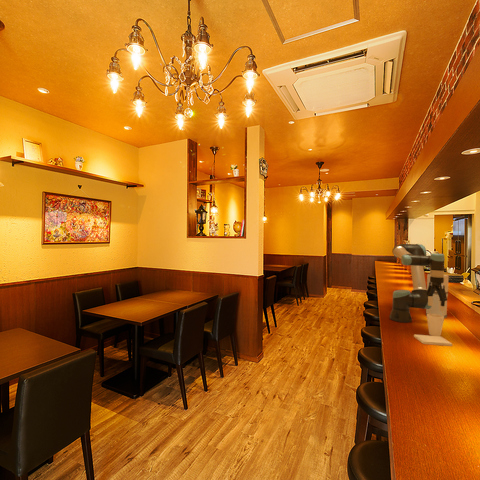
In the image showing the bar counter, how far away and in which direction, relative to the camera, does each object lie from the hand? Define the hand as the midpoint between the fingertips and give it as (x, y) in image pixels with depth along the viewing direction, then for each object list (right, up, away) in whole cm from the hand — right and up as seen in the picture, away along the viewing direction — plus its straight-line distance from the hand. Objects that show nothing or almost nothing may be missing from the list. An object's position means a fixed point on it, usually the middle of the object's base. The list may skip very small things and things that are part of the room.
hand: (435, 308), depth 181 cm
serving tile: (-10, -18, -11) cm, 23 cm away
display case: (+33, -18, +45) cm, 59 cm away
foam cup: (0, -18, +1) cm, 18 cm away
